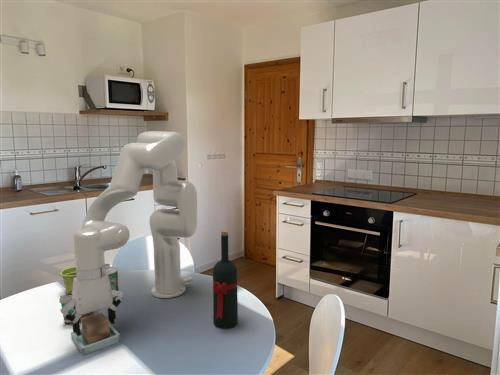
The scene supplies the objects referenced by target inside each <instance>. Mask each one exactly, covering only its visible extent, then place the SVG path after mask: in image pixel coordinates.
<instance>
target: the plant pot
mask: <svg viewBox="0 0 500 375" xmlns="http://www.w3.org/2000/svg"><path fill="white" fill-rule="evenodd" d="M60 275H61V276H62V279H63V282H64V283H63V284H64V287H65V291H66V295H67V294H68V293H69V292H70V291H72V290H73V280H74V278H75V277H77V274H76V266H71V267H67V268H64V269H63V270H61V272H60Z"/></svg>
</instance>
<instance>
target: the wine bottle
mask: <svg viewBox="0 0 500 375" xmlns="http://www.w3.org/2000/svg"><path fill="white" fill-rule="evenodd" d="M228 233H229V230H223V229H222V231H221V232H220V234H221V235H220V250H221V252H220V255H221V259H220V260H219V261H217V262H216V263H215V265H213V269H212V296H213V297H212V298H213V300H212V302H213V304H212V307H213V308H212V311H213V314H212V315H213V316H212V318H213V322H212V323H213V324H212V325H214V326H215V328H217V329H221V330H229V329H232V328H233V329H234V328H235V327H236V326H237V325H238V323H239V322H238V321H239V319H238V318H239V314H238V313H239V312H238V311H239V310H238V309H239V308H238V306H239V305H238V304H239V302H238V300H239V299H238V267H237V265H236V264H235V263H234V262H233V261H231V260H229V234H228Z"/></svg>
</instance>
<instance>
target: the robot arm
mask: <svg viewBox="0 0 500 375" xmlns="http://www.w3.org/2000/svg"><path fill="white" fill-rule="evenodd" d="M185 148H186V141H185V138H184V136H183V134H181V133H179V132H178V131H165V130H163V131H160V130H158V131H156V130H153V131H151V130H150V131H144V132H143V131H142V132H141V133H140V134H138V136H137V138H136V142H130V143H127V144H125V145H123V147H122V148H121V151H120V154H119V156H118V160H117V162H116V165H115V169H114V171H113V175H112V178H111V180H110V183H109V185H108V187H107V188H106V189H104V191H102V192H101V193H100V194H99V195H98V196H97V197H96V198H95V200H93V202H91V204H90V206H89V207H88V209H87V212H86V214H85V216H84V220H83V223H82V227H81V229H78V230H76V231H75V232H74V234H73V247H74V259H75V260H74V261H75V267H76V274H77V277H75V278H74V280H73V290H72V301H71V302H69V303H68V304H67V305H65V306H64V307H63V308H62V307H61V308H60V311H59V312H60V313H61V314H62V316H63V315H64V316H65V318H66V319H68V320H69V321H71V322H72V324H71V326H72V332H74V333H76V334H77V335H78V336H79V335H81V332H80V330H81V322H79V321H78V320H79V318H80V317H81V315H83V314H87V313H90V314H91V313H93V312H96V311H100V310H103V309H105V308H107V316H108V317H107V318H108V319H109V323H110V324H111V325H115V320H116V318H117V316H116V311H117V309H118V307H119V306H120V304H121V303H122V299H123V297H124V293H123V292H122V291H120V290H119V291H115V290H111V285H110V280H109V277H108V274H107V272H106V269H108V268H110V267H111V264H110V263H105V252H106V251H111V250H116V249H119V248H122V247H124V246H125V245H126V244H127V243H128V242H129V240H130V235H131V234H130V230H129V229H128V227H127V226H126V225H124V224H122V223H118V222H114V221H113V222H112V221H106V217H107V215H108V214H109V212H111V210H112V209H113V208H114V207H116V206H117V205H118V204H121V203H124V202H125V201H127V200H130V199H131V198H134V197H136V196H137V195H138V193H139V192H138V191H139V188H140V185H141V182H142V179H143V176H144V173H145V171H146V170H147V171H152V190H153V193H152V194H153V200H154V202H155V203H156V204H158V205H160V206H165V207H173V209H171V208H170V209H169V208H158V209H156V210H154V211H153V212H152V213H151V215H150V216H149V220H148V221H149V229H150V231H151V232H150V233H151V237H152V243H153V246H152V247H153V263H154V264H153V266H154V286H153V287H151V290H150V294H151V295H152V296H153V297H155V298H159V299H171V298H177V297H178V296H180V295H183V294H184V293H185V292H186V286H185V284H186V283H191V282H192V281H193V276H191V275H190V276H187V275H183V276H182V274H181V273H182V272H181V271H182V270H181V247H180V246H181V245H180V241H179V239H178V238H183V239H186V238H187V239H188V238H192V237H193V236H194V235H195V234H196V230H197V228H198V192H197V189H196V186H195V185H194V183H192V182H191V181H189V180H182V179H181V180H179V179H178V166H177V164H176V161H175V160H176V159H178V158H179V157H180V156H181V155H182V154H183V152H184V151H185ZM174 207H175V208H178V209H174ZM186 276H187V277H186ZM112 295H114V296H117V297H116V299H115V300H114V302H113V298H112ZM112 302H113V303H112ZM72 307H73V309H74V310H75V311H74V312H73V314H72V315H71V314H69V313H68V311H69V310H70V309H71V308H72Z"/></svg>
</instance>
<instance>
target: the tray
mask: <svg viewBox="0 0 500 375" xmlns="http://www.w3.org/2000/svg"><path fill="white" fill-rule="evenodd" d="M109 329H110V337H109V338H106V339H104V340H101V341H98V342H95V343H92V344H90V345H87V343H86V342H85V341H84V339H83V338H82V330H81V329H80V332H81V335H79V336H78V335H77V334H76V333H74V332H73V331H72V332H70V337H71V338H70V339H71V340H72V341H73V343H74V344H75V347H76V348H77V349H78V351H79V353H80V354H81V355H82V356H85V355H88V354H90V353H93V352H95V351H99V350H102V349H104V348H107V347H109V346H112V345H115V344H118V343H121V342H122V341H121V340H122V339H121V338H122V337H121V336H122V335H121V333H119V332H118V331H117V329H116V328H115V327H114V326H113V324H111V322H109Z"/></svg>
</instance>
